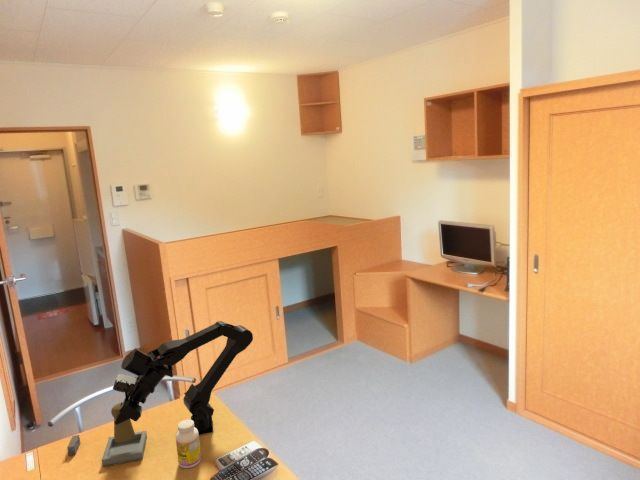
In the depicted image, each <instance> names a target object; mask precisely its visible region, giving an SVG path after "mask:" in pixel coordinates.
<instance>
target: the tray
mask: <svg viewBox="0 0 640 480" xmlns="http://www.w3.org/2000/svg"><path fill="white" fill-rule="evenodd" d="M134 433H135V436H134V437H133V438H132V439H131V440H129V441H126V442H123V443H117V442H115V440H114V436H109V437H108V440H107V443H106V446H105V448H104V451H103V455H102V458H101V465H102V468H106V467H110V466H116V465H121V464H125V463H132V462H137V461H141V460H143V459H144V455H145V450H146V446H147V445H146V444H147V439H148V435H147V430H142V431H137V432H134Z"/></svg>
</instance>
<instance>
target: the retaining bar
mask: <svg viewBox="0 0 640 480" xmlns="http://www.w3.org/2000/svg"><path fill="white" fill-rule="evenodd" d="M80 445H81V437H80V435H79V434H77V435H72V437H71V438H70V441H69V443H68V444H67V449H66V450H67V456H68V457H70V456H75V455H77V453H78V450H79V448H80Z"/></svg>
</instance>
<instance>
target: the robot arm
mask: <svg viewBox="0 0 640 480" xmlns="http://www.w3.org/2000/svg"><path fill="white" fill-rule="evenodd" d="M253 335H254V334H253V332H251V330H249V329H248V328H247V327H245V326H243V325H240V324H239V325H233V324H230V323H227V322H224V321H223V320H219V321H218V320H217V321H216V322H214V323H213V324H211V325H209V326H207V327H205V328H203V329H201V330H199V331H197V332H194V333H193V334H191V335H188V336H186V337H184V338H181V339H173V340H170V341H167V342H163V343H161V344H160V345H159V346H158V347H157V348H155V349H153V350H151V351H148V352H147V353H145V352H143V351H142V350H140V349H139V348H137V347H135V348H134V349H133V350H132V351H130V352H129V353H128V354H126V355H125V356H124V358H123V360H122V362H121V369H122V370H125V371H127V372H129V373H131V374H133V375H135V376H136V377H135V376H132V375H127V374H122V373H118V374H116V375H117V376H116V378H115V381H114V384H113V387H112V391H113V390H114V391H116V392H121V393H124V396H125V398H124V399H123V402H120V403H121V405H120V409H119V412H120V413H119V415H118V417H117V418H116V420H115V422H114V421H113V425H114V424H116V425H117V424H120V423H122V422H124V421H126V420H128V419H130V420H131V421H133V422H138V420H139V419H140V418H141V416H142V414H143V407H142V406H141V405H140V403H142V404H145V403H146V401H147V398H148V397H149V396H150V395H151V394H154V392H155V389H156V388H157V386H158V385H159V384H160V382H162V380H163V379H164V378H165V376H168V377H170V378H173V377H174V374H173V366H175V365H176V364H178V363H179V362H181V361H182V360H184V359H185V357H186V356H187V355H188V354H189V353H191V352H192V351H194V350H196V349H198V348H200V347H202V346H205V345H207V344H208V343H210V342H212V341H215V340H216V339H218V338H220V337H222V336H223V337H226V338H227V340H226V344H225V346H224V348H223V350H222V351H221V352H220V354H219V356H218V357H217V358H216V359H215V361H214V363H212V365H211V366H210V368H209V369H208V370H207V372H206V373H205V375H204V376H203V378H202V379H201V381H200V382H199V383H197V384H193V383H192V384H190V385H189V386H188V387H189V388H188V389H187V391H185V392H184V393H183V394H184V397H183V399H182V400H183V404H184V406H185V407H186V409H187V410H188V411H189V413H190V414H192V415H191V416H190V420H193V421H194V427H195V428H196V429H197V430H198V433H199V436H200V435H207V434H211V433H213V432H214V420H213V415H214V412H215V409H214V408H213V406H212V405H211V404H210V403H209V402H210V400H211V396H212V391H213V390H214V388H215V386H216V385H217V384H218V382H219V381H220V380H221V378H222V377H223V375H224V374H225V372H227V370H228V369H229V366H230V365H231V364H232V362H233V361H234V359H235V358H236V356H238V355H239V354H240V353H242V352H244V351H245V350H246V349H247V348H248V347H249V346H250V345H251V344H252V342H253V339H254V336H253Z"/></svg>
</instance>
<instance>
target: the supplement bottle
mask: <svg viewBox="0 0 640 480" xmlns="http://www.w3.org/2000/svg"><path fill="white" fill-rule="evenodd" d="M175 443H176V453H177V460H178V465H179V467H181V468H182V469H191V468H194V467H196V466H197V465H199V463H200V462H201V460H202V453H201V444H200V435H199V433H198V430H197V429H196V428H195V427H194V421H193V420H191V419H189V418H188V419H183V420H182V421H180V422H178V424H177V432H176V434H175Z"/></svg>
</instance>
